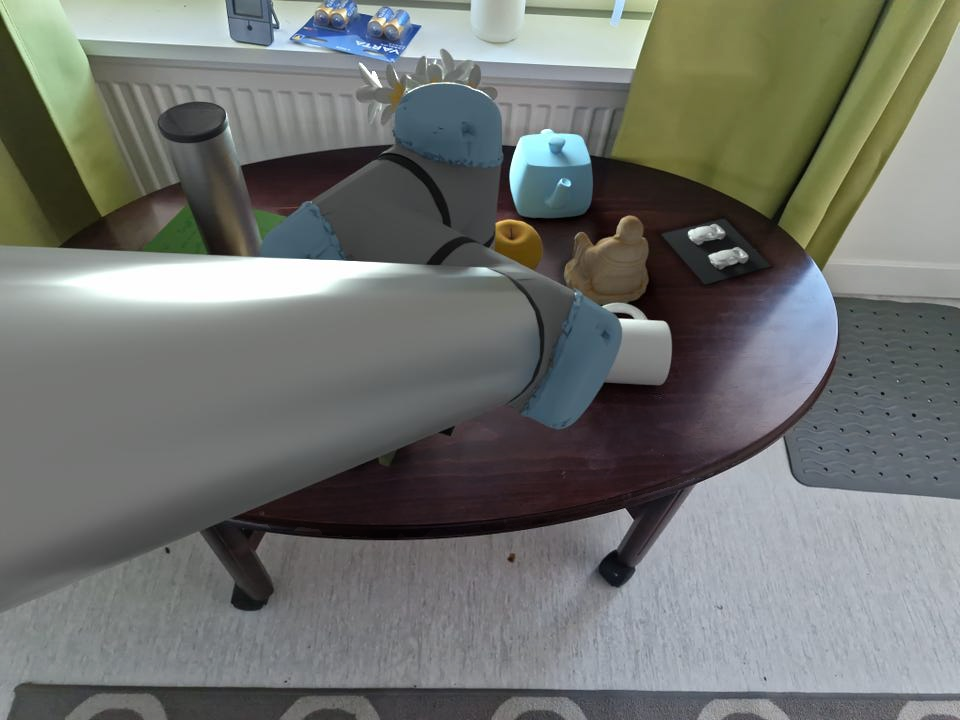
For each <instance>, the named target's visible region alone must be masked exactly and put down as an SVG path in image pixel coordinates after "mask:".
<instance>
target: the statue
mask: <svg viewBox="0 0 960 720" xmlns="http://www.w3.org/2000/svg"><path fill="white" fill-rule="evenodd" d="M615 231H616V233H615V234H614V235H613V236H608V237H605V238H602V239H600V240H598V242H597V243H596V244H595V245H594V244H593V243H592V242H591V240H590V238H589V237H588V235H587V234H586V232H583V231H580V232H578V233H577V234H576V235H575V236H574V246H573V250H572V255H571V257H572V258H571V259H570V260H569V261H568V262H567V263H566V264H565V267H564V273H563V277H564V280H565V283H566V287H567V288H569V289H571V290H573V289H574V288H575V289H577V290H579V291H581V293H582V294H583V296H585V297H587V298H588V299H590V300H591V301H593V302H595V303H596V304H598V305H600V306H601V305H602V306H604V305H607V304H612V303H625V304H629V303H630V302H633V301H636V300H639V299H640V298H641V296H643V295H644V294H645V292H646V290H647V286H648V284H649V275H648V269H647V267H646V262H647V259H648V256H649V251H650V249H649V243H648V240H647V239H646V238H645V237H643V235H644V225H643V223H642V221H641V220H640V219H639V218H638V217H637V216H634V215H627V216H624V217H622V218H621V219H620V221H619V223H618V225H617V227H616V230H615Z"/></svg>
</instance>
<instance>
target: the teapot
mask: <svg viewBox="0 0 960 720" xmlns="http://www.w3.org/2000/svg"><path fill="white" fill-rule="evenodd" d="M592 167H593V166H592V160H591V156H590V153H589V151H588V148H587V145H586V142H585V141H584V138H583V136H581V135H579V134H573V133H555V132H554V131H553V129H549V128H547V129H543V130H541V132H540V133H535V134H534V133H533V134H527V135H523V136H521V137H520V138H519V141H518V142H517V145H516V148H515V150H514V152H513V156H512V160H511V165H510V169H509V185H510V192H511V195H512V200H513V203H514V206H515V209H516V212H517V214H518V215H520V216H522V217H525V218H532V219H537V218H539V219H559V218H571V217H576V216H581V215H584V214H585V213H586V212H587V211H588V209H589V208H590V206H591V203H592V198H593V191H594V190H593V188H594V180H593V168H592Z"/></svg>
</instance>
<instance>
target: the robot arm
mask: <svg viewBox="0 0 960 720" xmlns="http://www.w3.org/2000/svg"><path fill="white" fill-rule="evenodd" d="M393 119H394V122H393V123H394V124H393V127H392V128H393V129H392V131H391V132H392V137H394V143H393V145H392V146H391V147H390V148H388V149H386V150H385V151H382V153H380V154H379V155H377V156H376V157H375V158H374V159H373V160H372V161H371V162H370V163H367V164H366V165H365V166H363V167H362V168H360V169H358V170H357V171H355V172H354V173H352V174H350V175H349V176H347V177H346V178H344V179H343V180H341V181H340V182H338V183H337V184H335V185H334V186H332V187H331V188H329V189H327V190H325V191H324V192H323V193H321V194H318V196H316V197H314V198H313V199H311V200H310V201H308V200H307V201H305V202H302V203H301V204H300V206H299V208H298V209H296V210H295V211H293V212H292V213H291V214H289V215H288V216H286V217H287V218H285V219H284V220H283V221H281V222H280V223H279V224H278V225H277V226H276V227H275V228H274V229H272V230H271V231H270V232H269V233H268V234H267V235H266V236H265V237H264V239H263V241H262V244H261V247H260V257H244V256H222V255H201V254H179V253H157V252H140V251H135V250H134V251H133V250H114V249H113V250H111V249H110V250H109V249H91V248H71V247H70V248H69V247H68V248H67V247H66V248H65V247H45V246H26V245H25V246H23V245H2V244H0V614H2V613H5V612H8V611H10V610H12V609H14V608H17V607H19V606H22V605H24V604H27V603H29V602H32V601H34V600H36V599H39V598H41V597H43V596H46V595H48V594H51V593H54V592H56V591H58V590H60V589H63V588H65V587H68V586H70V585H73V584H75V583H78V582H80V581H82V580H84V579H88V578H90V577H92V576H94V575H97V574H100V573H102V572H104V571H106V570H109V569H111V568H114V567H116V566H119V565H122V564H123V563H125V562H128V561H131V560H133V559H135V558H138V557H140V556H143V555H145V554H148V553H150V552H152V551H155V550H158V549H160V548H162V547H165V546H167V545H169V544H172V543H174V542H176V541H179V540H182V539H184V538H186V537H189V536H191V535H194V534H196V533H198V532H201V531H204V530H206V529H208V528H211V527H214V526H215V525H218V524H220V523H223V522H225V521H227V520H230V519H232V518H235V517H237V516H240V515H242V514H245V513H247V512H249V511H252V510H255V509H256V508H260V507H261V506H263V505H266V504H269V503H271V502H273V501H276V500H278V499H280V498H283V497H286V496H288V495H290V494H293V493H295V492H298V491H299V490H303V489H304V488H308V487H310V486H312V485H314V484H317V483H319V482H322V481H324V480H327V479H329V478H332V477H334V476H337V475H338V474H341V473H343V472H346V471H348V470H350V469H354V468H356V467H358V466H360V465H362V464H366V463H367V462H370V461H372V460H375V459H378V457H380V456H382V455H385V454H387V453H389V452H392V451H394V450H397V451H398V450H399V449H402V448H404V447H407V446H409V445H411V444H413V443H416V442H419V441H421V440H423V439H425V438H428V437H432V436H433V435H435V434H437V433H438V434H442V435H444V436H448V437H452V435H453V432H454V430H455V427H456V426H457V425H459V424H462V423H464V422H467V421H469V420H472V419H474V418H476V417H479V416H482V415H484V414H486V413H488V412H491V411H493V410H496V409H499V408H500V407H501V408H502V407H506V406H508V405H509V406H510V407H512V408H513V409H515V410H516V411H517V412H518V414H519V415H521V416H522V417H524V418H530V419H532V420H534V421H536V422H538V423H540V424H542V425H544V426H546V427H548V428H551V429H555V430H563V429H567V428H568V427H570V426H571V425H573V424H574V423H576V422H577V421H578V419H580V418H581V416H582V415H583V414H584V413H585V412H586V410H587V409H588V408H589V406H591V404H592V402H593V401H594V399H595V397H596V396H597V394H598V393H599V391H600V390H601V388H602V387H603V385H604V383H605V382H604V381H605V379H606V378H607V376H608V374H609V372H610V370H611V368H612V365H613V363H614V361H615V359H616V356H617V354H618V351H619V348H620V345H621V341H622V327H621V323H620V321H619V319H620V318H618V316H617V315H616V314H615V313H612V312H610V311H608V310H607V309H605V308H603V307H602V306H603V305H602V306H601V304H596V303H595V302H593V301H591V300H590V299H588V298H587V297H585V296H583V294H582V293H581V291H579V290H577V289H575V288H574V289H573V290H571V289H570V288H569V287H568V286H565V285H563V284H561V283H559V282H557V281H556V280H553V279H551V278H549V277H547V276H545V275H544V274H541V273H540V272H538V271H535V270H534V271H533V270H531V269H529V268H527V267H525V266H523V265H521V264H519V263H517V262H515V261H513V260H511V259H509V258H507V257H505V256H503V255H501V254H499V253H497V252H495V251H494V249H495V236H496V234H495V229H496V224H495V223H497V222H496V221H497V211H498V201H499V192H500V191H499V190H500V180H501V179H500V178H501V171H502V163H503V161H504V157H505V156H504V153H503V119H502V113H501V110H500V108H499V106H498V105H497V103H496V102H495V100H492V99H491V98H490V97H489V96H488V95H486V94H485V93H483V92H482V91H479V90H476V89H473V88H471V87H469V86H467V85H462V84H456V83H433V84H427V85H423V86H420V87H417V88H415V89H413V90H411V91H409V92H408V93H406V94H405V95H404V96H403V97H402V98H401V100H400V102H399V104H398V106H397V107H396V110H395V114H394V118H393Z"/></svg>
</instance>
